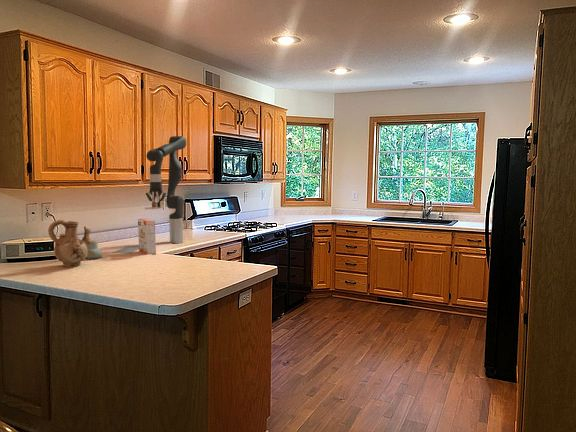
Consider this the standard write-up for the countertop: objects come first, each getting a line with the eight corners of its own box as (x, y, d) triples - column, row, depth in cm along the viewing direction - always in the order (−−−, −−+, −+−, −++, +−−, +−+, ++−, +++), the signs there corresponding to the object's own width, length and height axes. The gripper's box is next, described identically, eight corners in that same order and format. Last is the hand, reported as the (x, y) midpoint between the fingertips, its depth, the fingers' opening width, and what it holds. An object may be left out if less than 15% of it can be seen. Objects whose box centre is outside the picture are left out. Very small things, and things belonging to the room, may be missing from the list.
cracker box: (138, 252, 295) (137, 218, 293) (147, 251, 298) (146, 218, 296) (146, 255, 283) (145, 220, 281) (156, 254, 287) (155, 220, 285)
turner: (156, 208, 317) (156, 202, 317) (165, 208, 317) (165, 202, 317) (144, 209, 295) (144, 202, 295) (154, 209, 295) (154, 202, 295)
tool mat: (128, 246, 316) (128, 245, 315) (146, 246, 315) (146, 245, 315) (111, 254, 288) (111, 253, 288) (130, 254, 287) (130, 253, 287)
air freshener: (80, 259, 270) (79, 242, 269) (86, 256, 278) (85, 240, 277) (98, 259, 270) (98, 242, 269) (104, 257, 278) (104, 240, 277)
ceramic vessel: (80, 269, 242) (78, 221, 240) (43, 269, 243) (41, 220, 241) (95, 262, 261) (94, 217, 258) (61, 262, 261) (59, 217, 259)
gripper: (167, 181, 310) (168, 207, 312) (147, 181, 311) (147, 207, 312) (164, 181, 303) (165, 208, 304) (143, 181, 303) (144, 208, 305)
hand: (156, 207), depth 308 cm, fingers closed on turner, 2 cm apart
